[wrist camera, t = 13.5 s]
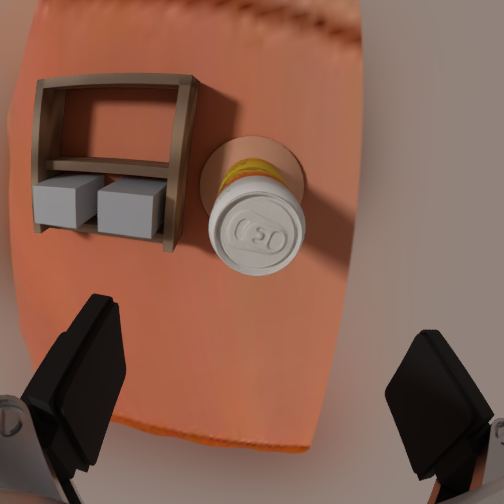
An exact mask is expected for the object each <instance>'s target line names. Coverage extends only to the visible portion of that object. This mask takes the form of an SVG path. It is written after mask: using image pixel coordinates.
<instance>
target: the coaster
mask: <svg viewBox="0 0 504 504" xmlns="http://www.w3.org/2000/svg"><path fill="white" fill-rule="evenodd" d="M246 158H259V159H263V160H265V161H267V162H269V163H270V164H272V165H273V166H274V167H275V168H276V169H277V171H278V172H279V174H280V175H281V177H282V178H283V180H284V181H285V183H286V184H287V186H288V187H289V189H290V191H291V192H292V194H293V195H294V197H295V198H296V200H297V201H298V203H299V205H301V202H302V199H303V194H304V179H303V174H302V171H301V168H300V166H299V164H298V162H297V160H296V159H295V157H294V156H293V155H292V154H291V152H289V151H288V150H287V149H286V148H285V147H284V146H282V145H281V144H279V143H277V142H276V141H274V140H271V139H268V138H265V137H260V136H244V137H239V138H236V139H233V140H230V141H228V142H226V143H225V144H223V145H222V146H220V147H219V148H218V149H217V150H215V151H214V153H213V154H212V155H211V156H210V157H209V159H208V160H207V162H206V164H205V166H204V168H203V170H202V173H201V178H200V196H201V201H202V203H203V206H204V208H205V210H206V212H207V214H208V215H209V216H210V215H211V212H212V209H213V207H214V204H215V201H216V198H217V196H218V193H219V190H220V187H221V185H222V182H223V179H224V177H225V174H226V173H227V171H228V170H229V168H230V167H231V166H232V165H233V164H235V163H236V162H238V161H240V160H242V159H246Z"/></svg>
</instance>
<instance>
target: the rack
mask: <svg viewBox="0 0 504 504" xmlns="http://www.w3.org/2000/svg"><path fill="white" fill-rule="evenodd" d="M199 86H200V81H198V80H197V79H196V78H195V77H194V76H193V75H183V74H162V73H112V74H91V75H77V76H66V77H57V78H49V79H41V80H37V87H36V95H35V104H34V115H33V128H32V150H31V187H32V208H33V222H34V233H42V232H44V231H45V230H47V229H48V228H57V229H64V230H71V231H78V232H86V233H93V234H100V235H107V236H115V237H122V238H129V239H136V240H144V241H151V242H158V243H163V251H164V252H171V253H173V251H174V249H175V247H176V245H177V243H178V241H179V239H180V237H181V235H182V225H183V213H184V202H185V192H186V183H187V173H188V165H189V156H190V148H191V140H192V133H193V125H194V118H195V111H196V105H197V98H198V92H199ZM92 88H159V89H178V90H179V91H178V97H177V104H176V111H175V118H174V126H173V134H172V142H171V151H170V160H169V163H166V162H156V161H144V160H131V159H117V158H100V157H78V156H61V148H62V131H63V119H64V109H65V100H66V92H67V90H74V89H92ZM61 170H69V171H86V172H101V173H115V174H127V175H138V176H149V177H159V178H168V180H167V192H166V205H165V219H164V224H162V225H161V226H160V227H159V229H158V230H157V231H156V233H155V234H154V235H153V237H152V238H151V239H149V238H142V237H134V236H127V235H120V234H112V233H105V232H98V216H93V217H91V218H90V219H89V220H87V221H86V222H84V223H83V224H82V225H80V226H79V227H78V228H68V227H61V226H54V225H46V224H39V223H35V218H34V201H33V185H35V184H38V183H40V182H43V181H45V180H48V179H50V178H53V177H55V176H58V175H60V174H61Z"/></svg>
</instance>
